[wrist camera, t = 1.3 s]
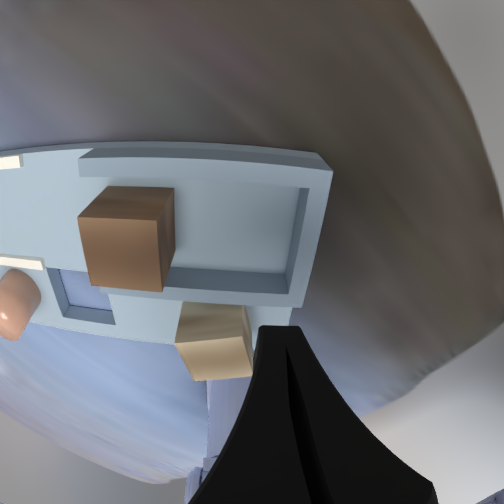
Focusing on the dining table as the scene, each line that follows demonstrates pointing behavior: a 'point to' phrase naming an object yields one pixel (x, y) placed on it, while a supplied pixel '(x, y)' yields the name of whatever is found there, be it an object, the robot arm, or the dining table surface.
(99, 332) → the slate board with cubby
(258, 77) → the dining table surface
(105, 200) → the walnut block
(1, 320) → the peach rounded cylinder
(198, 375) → the beech block
